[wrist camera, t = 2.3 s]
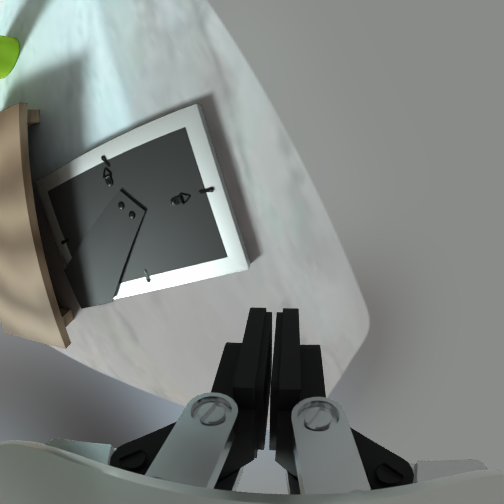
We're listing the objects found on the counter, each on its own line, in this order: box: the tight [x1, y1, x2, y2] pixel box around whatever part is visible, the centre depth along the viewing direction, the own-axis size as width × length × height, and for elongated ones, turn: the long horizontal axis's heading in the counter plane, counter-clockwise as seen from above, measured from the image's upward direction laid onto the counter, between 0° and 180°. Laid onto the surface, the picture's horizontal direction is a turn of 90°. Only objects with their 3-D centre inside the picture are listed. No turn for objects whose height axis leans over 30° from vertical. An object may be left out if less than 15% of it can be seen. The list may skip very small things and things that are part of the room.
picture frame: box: [36, 104, 251, 308], centre depth 29 cm, size 16×3×21 cm
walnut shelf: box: [0, 103, 74, 349], centre depth 29 cm, size 27×12×6 cm, turn 2°
